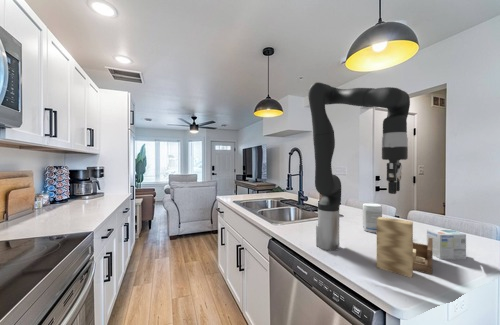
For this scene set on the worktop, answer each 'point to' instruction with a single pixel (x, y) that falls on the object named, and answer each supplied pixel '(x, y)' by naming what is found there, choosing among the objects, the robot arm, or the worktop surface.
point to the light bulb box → (448, 244)
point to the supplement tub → (371, 216)
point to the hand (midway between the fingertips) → (394, 192)
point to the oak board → (395, 245)
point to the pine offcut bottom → (419, 260)
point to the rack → (424, 256)
